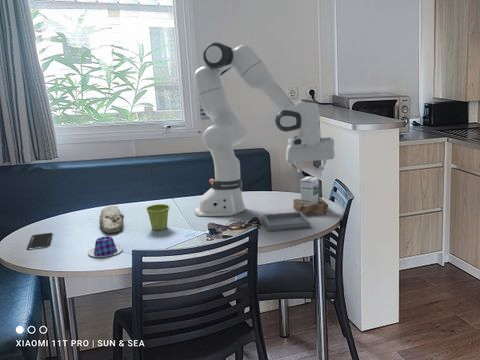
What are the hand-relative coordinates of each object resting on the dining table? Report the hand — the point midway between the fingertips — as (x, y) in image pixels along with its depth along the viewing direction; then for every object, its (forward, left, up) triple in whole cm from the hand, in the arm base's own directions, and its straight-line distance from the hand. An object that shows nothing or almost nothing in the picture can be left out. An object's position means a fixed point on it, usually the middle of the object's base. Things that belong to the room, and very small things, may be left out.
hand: (310, 171), depth 205 cm
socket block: (0, 0, -17) cm, 17 cm away
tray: (-14, -15, -17) cm, 27 cm away
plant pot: (-64, -7, -18) cm, 67 cm away
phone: (-109, -12, -18) cm, 111 cm away
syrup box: (0, 0, -18) cm, 18 cm away
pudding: (-82, -29, -18) cm, 89 cm away
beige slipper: (-85, +7, -18) cm, 87 cm away
